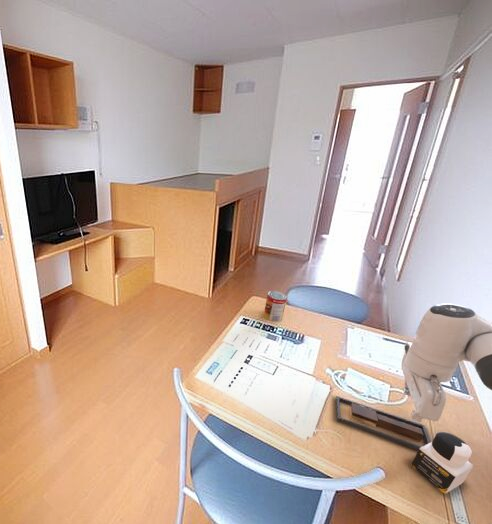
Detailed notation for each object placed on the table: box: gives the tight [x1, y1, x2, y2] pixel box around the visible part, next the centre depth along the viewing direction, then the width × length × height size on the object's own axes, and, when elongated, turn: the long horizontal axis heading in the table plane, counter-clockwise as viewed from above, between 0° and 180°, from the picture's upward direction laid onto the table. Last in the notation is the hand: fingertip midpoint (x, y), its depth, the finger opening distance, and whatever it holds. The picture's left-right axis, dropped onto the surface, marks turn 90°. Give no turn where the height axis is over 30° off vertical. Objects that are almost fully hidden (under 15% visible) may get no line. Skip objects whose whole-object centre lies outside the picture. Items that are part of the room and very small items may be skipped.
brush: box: [348, 403, 423, 443], centre depth 86 cm, size 16×4×3 cm, turn 61°
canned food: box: [263, 290, 288, 323], centre depth 136 cm, size 8×8×12 cm
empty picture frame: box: [335, 395, 431, 452], centre depth 86 cm, size 21×9×2 cm, turn 61°
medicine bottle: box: [410, 431, 474, 495], centre depth 72 cm, size 7×7×12 cm
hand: (411, 405), depth 81 cm, fingers open, 8 cm apart
